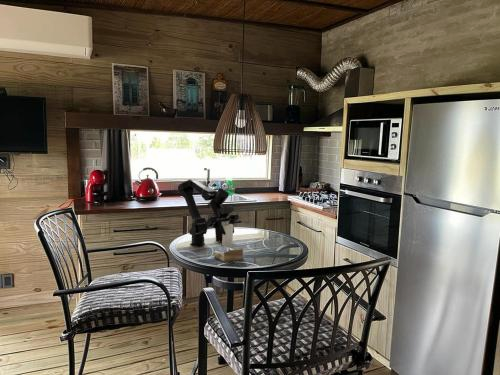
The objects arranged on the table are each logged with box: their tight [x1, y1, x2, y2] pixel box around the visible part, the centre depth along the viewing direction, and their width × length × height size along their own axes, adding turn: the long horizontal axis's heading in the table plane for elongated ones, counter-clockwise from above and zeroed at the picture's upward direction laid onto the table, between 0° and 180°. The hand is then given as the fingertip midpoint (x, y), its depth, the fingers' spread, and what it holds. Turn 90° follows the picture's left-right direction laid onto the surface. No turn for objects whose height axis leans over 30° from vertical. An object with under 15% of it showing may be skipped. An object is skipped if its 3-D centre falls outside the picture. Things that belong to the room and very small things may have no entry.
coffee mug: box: [214, 222, 228, 243], centre depth 233 cm, size 12×9×10 cm
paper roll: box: [221, 224, 234, 248], centre depth 201 cm, size 5×5×11 cm
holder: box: [213, 247, 244, 263], centre depth 202 cm, size 10×11×5 cm
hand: (229, 233), depth 200 cm, fingers closed on paper roll, 5 cm apart
